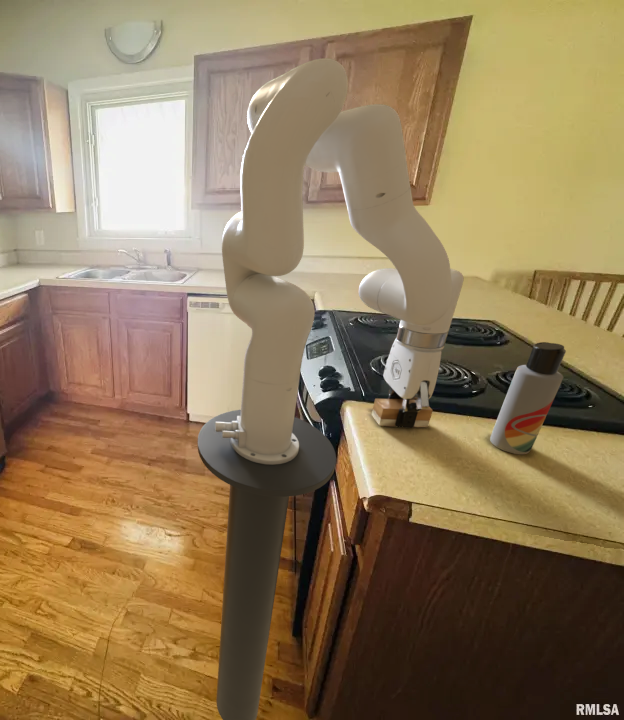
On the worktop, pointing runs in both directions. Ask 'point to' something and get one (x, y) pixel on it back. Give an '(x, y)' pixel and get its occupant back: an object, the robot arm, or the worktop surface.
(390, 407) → the scrub brush
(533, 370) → the lotion bottle
